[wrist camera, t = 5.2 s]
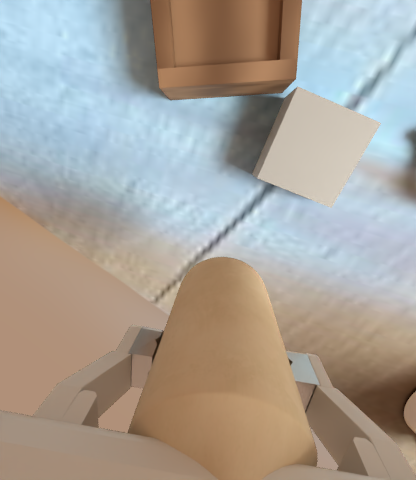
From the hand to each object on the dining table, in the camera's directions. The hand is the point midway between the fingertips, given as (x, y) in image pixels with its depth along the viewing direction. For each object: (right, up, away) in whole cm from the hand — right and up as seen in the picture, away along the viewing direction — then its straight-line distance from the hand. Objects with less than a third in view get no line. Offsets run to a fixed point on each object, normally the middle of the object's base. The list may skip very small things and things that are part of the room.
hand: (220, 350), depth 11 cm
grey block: (+8, +14, +11) cm, 20 cm away
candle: (0, +2, +4) cm, 5 cm away
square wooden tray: (+1, +23, +8) cm, 24 cm away
